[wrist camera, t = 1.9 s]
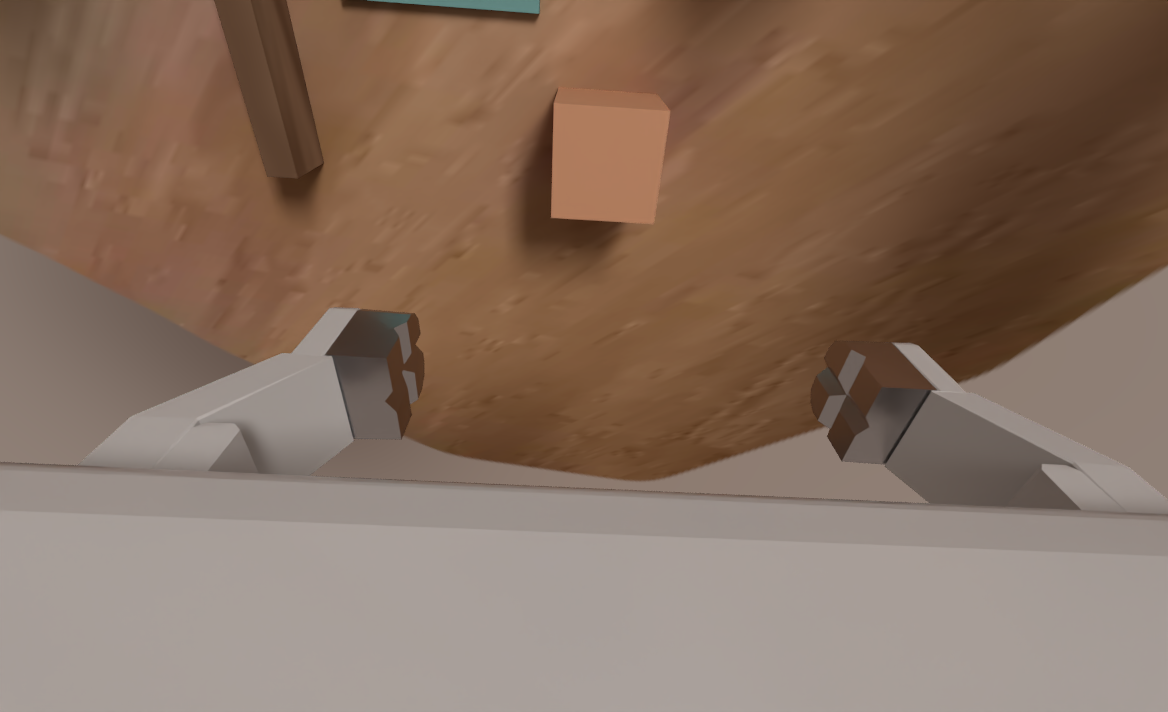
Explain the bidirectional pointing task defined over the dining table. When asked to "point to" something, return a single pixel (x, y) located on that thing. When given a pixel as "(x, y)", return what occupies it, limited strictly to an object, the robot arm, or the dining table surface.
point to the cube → (607, 155)
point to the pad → (480, 4)
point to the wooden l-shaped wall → (272, 84)
